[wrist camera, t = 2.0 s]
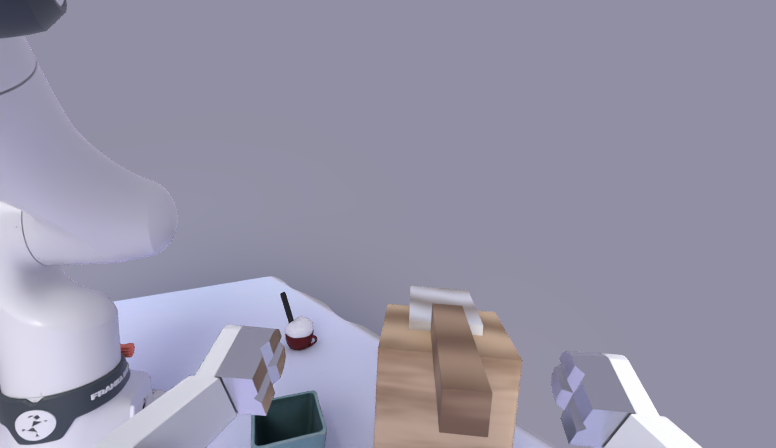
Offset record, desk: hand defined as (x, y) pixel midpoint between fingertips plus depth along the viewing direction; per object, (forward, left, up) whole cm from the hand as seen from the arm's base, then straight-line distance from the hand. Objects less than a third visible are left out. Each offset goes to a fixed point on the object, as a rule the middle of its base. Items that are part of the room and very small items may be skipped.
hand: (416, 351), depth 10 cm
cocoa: (-68, -2, -36) cm, 77 cm away
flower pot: (-33, -4, -36) cm, 49 cm away
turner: (-17, +10, -10) cm, 22 cm away
